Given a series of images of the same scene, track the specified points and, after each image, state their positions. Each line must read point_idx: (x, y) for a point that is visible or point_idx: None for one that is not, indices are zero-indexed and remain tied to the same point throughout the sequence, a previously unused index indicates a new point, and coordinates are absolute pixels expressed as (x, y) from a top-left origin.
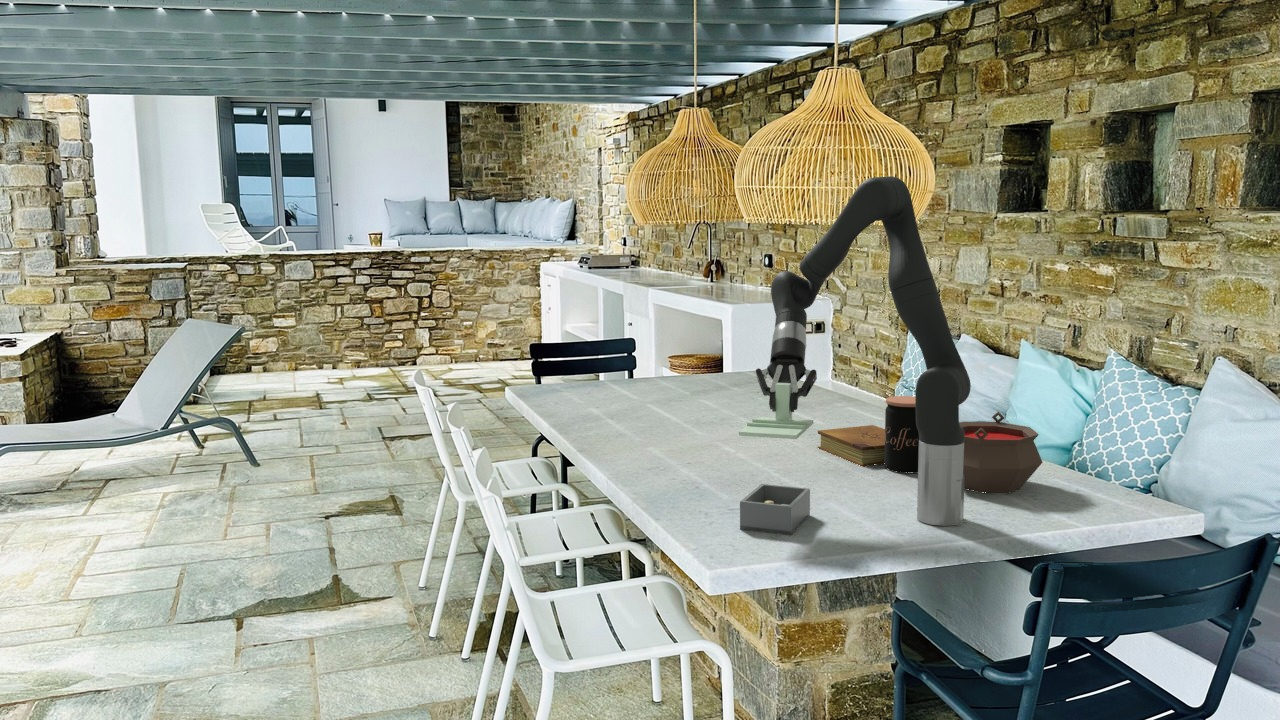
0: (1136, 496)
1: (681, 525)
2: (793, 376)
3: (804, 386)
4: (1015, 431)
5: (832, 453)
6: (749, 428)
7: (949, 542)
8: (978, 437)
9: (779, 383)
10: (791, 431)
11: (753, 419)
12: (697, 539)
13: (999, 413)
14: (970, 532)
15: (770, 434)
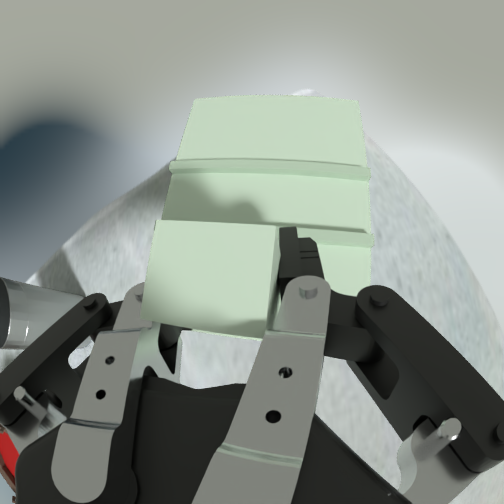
0: None
1: (411, 215)
2: (103, 371)
3: (81, 312)
4: (8, 474)
5: None
6: (346, 138)
7: (78, 237)
8: (3, 427)
9: (246, 285)
10: (208, 130)
11: (369, 234)
12: (369, 164)
13: (12, 500)
14: (59, 278)
15: (265, 95)
